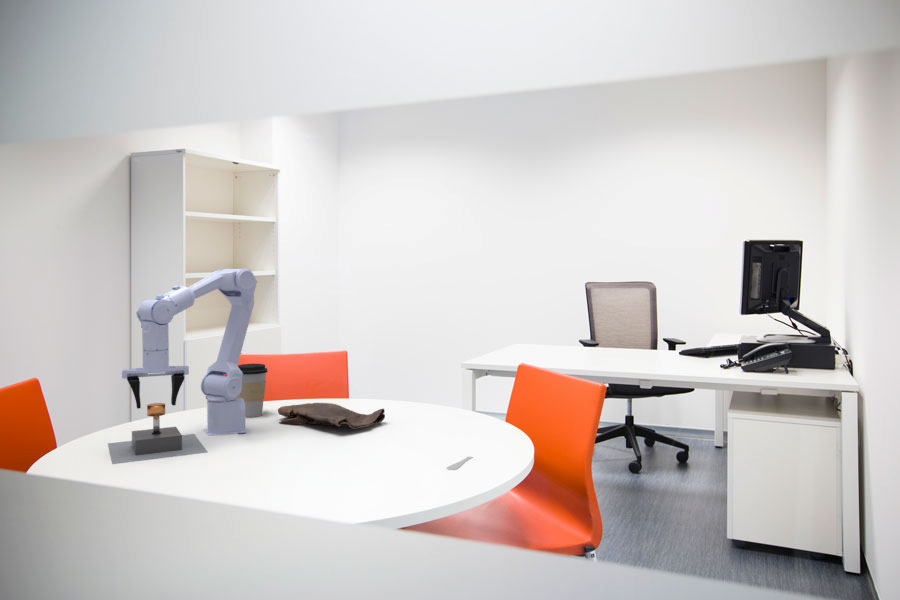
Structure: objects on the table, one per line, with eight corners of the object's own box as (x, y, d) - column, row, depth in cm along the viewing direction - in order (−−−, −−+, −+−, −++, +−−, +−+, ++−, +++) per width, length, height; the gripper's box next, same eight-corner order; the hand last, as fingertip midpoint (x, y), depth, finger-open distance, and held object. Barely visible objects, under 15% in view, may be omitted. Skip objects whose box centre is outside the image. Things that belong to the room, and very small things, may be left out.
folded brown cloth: (266, 421, 189) (265, 404, 189) (320, 410, 205) (320, 394, 204) (339, 439, 169) (339, 420, 169) (393, 425, 185) (393, 408, 185)
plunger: (164, 431, 160) (164, 402, 160) (166, 434, 156) (166, 405, 156) (146, 433, 158) (146, 403, 158) (148, 436, 154) (147, 406, 154)
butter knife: (443, 468, 143) (455, 470, 142) (485, 443, 165) (496, 444, 163) (443, 470, 143) (455, 472, 142) (485, 445, 165) (496, 446, 164)
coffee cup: (258, 419, 190) (258, 368, 190) (228, 417, 192) (228, 367, 192) (273, 412, 200) (273, 363, 199) (245, 411, 202) (244, 362, 201)
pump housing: (176, 440, 164) (176, 426, 164) (182, 449, 155) (181, 435, 155) (131, 445, 159) (131, 431, 159) (135, 455, 150) (135, 440, 150)
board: (194, 435, 171) (194, 433, 171) (207, 454, 154) (207, 452, 154) (107, 445, 161) (107, 443, 161) (112, 466, 144) (112, 464, 144)
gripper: (185, 346, 164) (186, 400, 164) (120, 349, 157) (121, 406, 157) (189, 349, 158) (190, 405, 158) (122, 352, 150) (123, 411, 151)
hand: (156, 406), depth 157 cm, fingers open, 7 cm apart
